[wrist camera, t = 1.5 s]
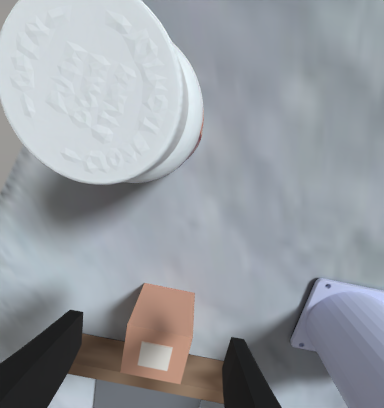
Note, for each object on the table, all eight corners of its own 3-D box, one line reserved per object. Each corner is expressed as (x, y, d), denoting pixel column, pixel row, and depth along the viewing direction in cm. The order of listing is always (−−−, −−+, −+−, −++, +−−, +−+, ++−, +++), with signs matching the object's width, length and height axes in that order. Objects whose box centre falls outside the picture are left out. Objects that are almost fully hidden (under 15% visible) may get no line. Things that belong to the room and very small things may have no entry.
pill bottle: (218, 132, 16) (252, 109, 6) (159, 181, 18) (93, 240, 7) (167, 63, 15) (83, -138, 4) (108, 120, 17) (-71, 75, 6)
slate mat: (206, 377, 23) (206, 381, 23) (185, 444, 27) (185, 449, 26) (100, 356, 23) (98, 360, 23) (92, 427, 27) (91, 431, 26)
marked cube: (194, 292, 21) (192, 338, 16) (185, 331, 22) (180, 385, 17) (144, 282, 21) (126, 325, 16) (138, 322, 22) (119, 373, 17)
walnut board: (248, 366, 23) (254, 398, 20) (244, 376, 23) (250, 409, 20) (65, 330, 22) (45, 357, 20) (64, 340, 23) (45, 369, 20)
